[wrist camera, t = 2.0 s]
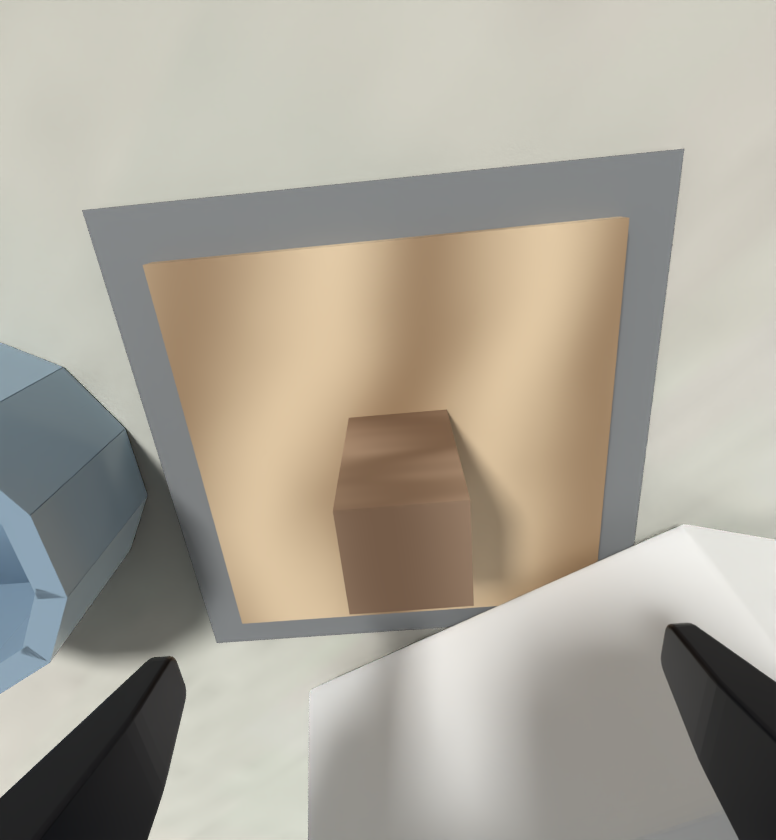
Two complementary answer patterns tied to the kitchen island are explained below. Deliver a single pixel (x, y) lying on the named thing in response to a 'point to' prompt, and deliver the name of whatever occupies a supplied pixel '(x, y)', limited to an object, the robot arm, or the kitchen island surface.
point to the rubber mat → (378, 220)
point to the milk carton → (545, 708)
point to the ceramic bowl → (57, 508)
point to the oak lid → (400, 413)
